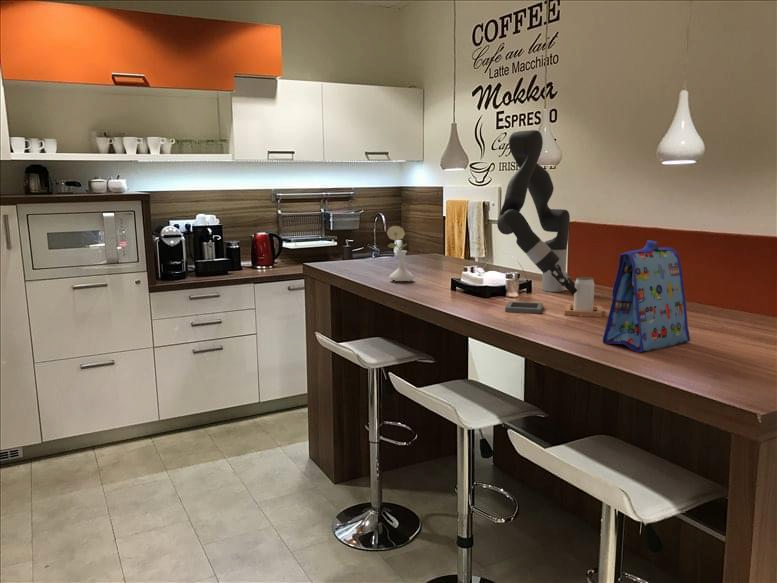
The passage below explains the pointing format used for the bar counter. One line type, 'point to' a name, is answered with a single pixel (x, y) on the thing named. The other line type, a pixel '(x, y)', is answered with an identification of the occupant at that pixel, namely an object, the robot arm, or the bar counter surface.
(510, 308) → the grey socket
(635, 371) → the bar counter surface
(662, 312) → the lunch bag
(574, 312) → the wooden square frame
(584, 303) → the can
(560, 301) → the bar counter surface
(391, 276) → the flower in vase
